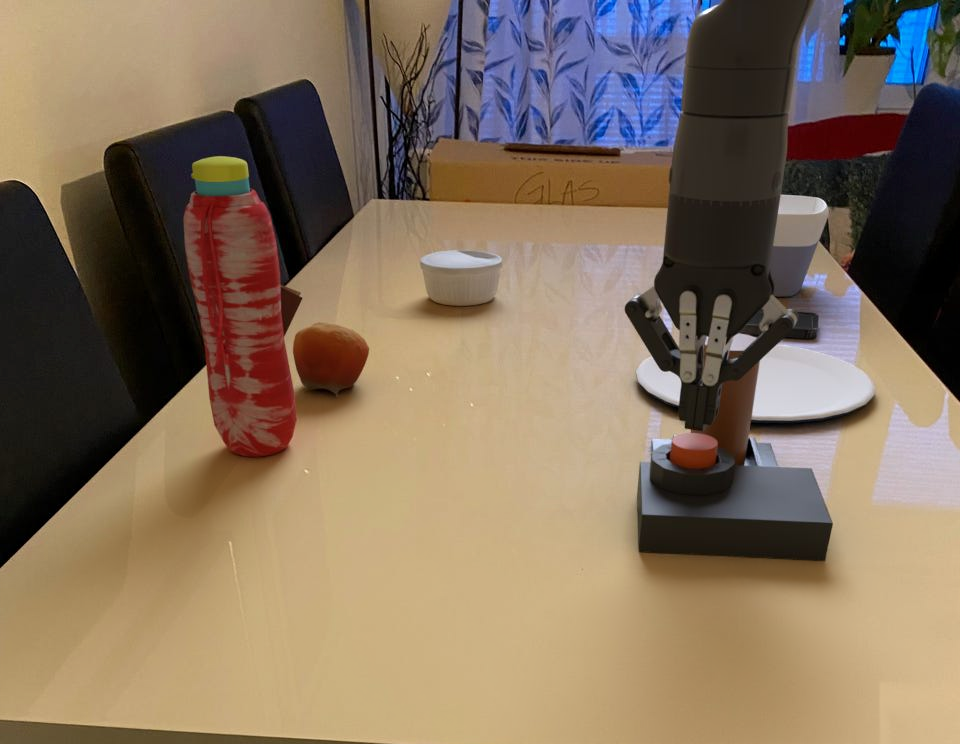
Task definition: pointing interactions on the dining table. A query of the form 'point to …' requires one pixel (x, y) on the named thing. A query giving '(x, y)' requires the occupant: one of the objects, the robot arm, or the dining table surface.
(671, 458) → the button
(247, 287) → the water bottle
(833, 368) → the plate
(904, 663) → the dining table surface
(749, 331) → the phone
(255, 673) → the dining table surface
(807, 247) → the white and lavender bin
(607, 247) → the dining table surface
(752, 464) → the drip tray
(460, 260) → the ramekin
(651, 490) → the red push button box
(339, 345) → the fruit
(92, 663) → the dining table surface
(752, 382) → the tall brown tube
